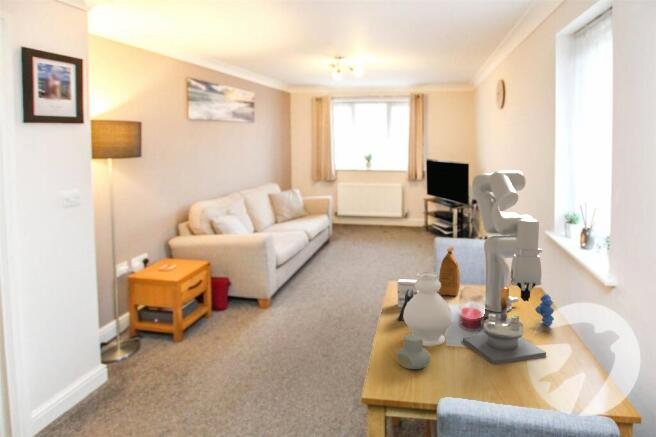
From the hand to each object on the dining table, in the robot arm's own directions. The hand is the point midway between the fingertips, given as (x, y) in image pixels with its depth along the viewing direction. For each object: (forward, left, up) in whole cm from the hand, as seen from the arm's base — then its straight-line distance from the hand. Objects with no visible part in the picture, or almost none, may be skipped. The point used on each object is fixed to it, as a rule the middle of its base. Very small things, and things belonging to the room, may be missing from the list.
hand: (525, 299), depth 186 cm
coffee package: (+3, -53, -13) cm, 54 cm away
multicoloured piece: (+13, +5, -7) cm, 15 cm away
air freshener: (+51, +11, -13) cm, 53 cm away
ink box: (+29, -43, -13) cm, 53 cm away
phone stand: (+35, -28, -13) cm, 46 cm away
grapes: (-13, -5, -13) cm, 19 cm away
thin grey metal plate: (+16, +9, -13) cm, 22 cm away
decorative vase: (+37, -7, -13) cm, 39 cm away
